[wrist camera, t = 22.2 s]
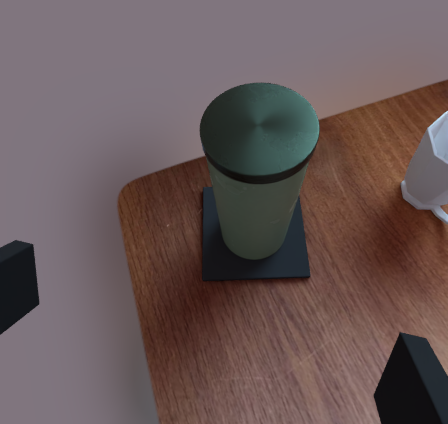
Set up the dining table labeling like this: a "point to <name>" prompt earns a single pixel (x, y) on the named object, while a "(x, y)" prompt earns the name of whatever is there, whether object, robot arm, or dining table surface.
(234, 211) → the tin
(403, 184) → the cup
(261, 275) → the mat
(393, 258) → the dining table surface
